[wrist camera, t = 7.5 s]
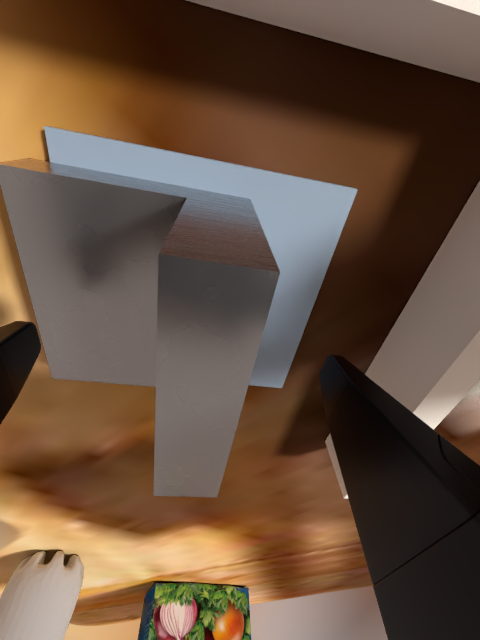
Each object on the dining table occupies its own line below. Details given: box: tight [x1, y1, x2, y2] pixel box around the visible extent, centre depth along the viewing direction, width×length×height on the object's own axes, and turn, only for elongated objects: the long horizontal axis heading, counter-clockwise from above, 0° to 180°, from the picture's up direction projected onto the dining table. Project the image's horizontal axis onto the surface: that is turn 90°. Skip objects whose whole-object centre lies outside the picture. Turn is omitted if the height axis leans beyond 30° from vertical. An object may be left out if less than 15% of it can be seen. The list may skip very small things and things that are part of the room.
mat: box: [44, 126, 358, 388], centre depth 12 cm, size 10×10×1 cm
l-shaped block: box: [186, 0, 480, 498], centre depth 11 cm, size 20×20×4 cm
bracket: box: [0, 158, 280, 497], centre depth 9 cm, size 8×7×6 cm
